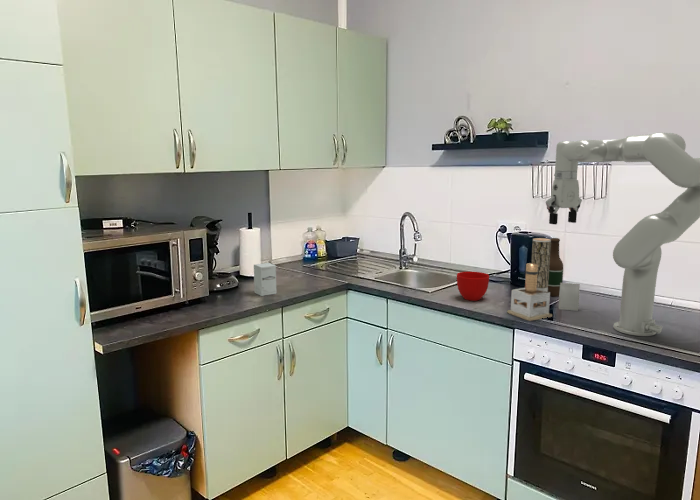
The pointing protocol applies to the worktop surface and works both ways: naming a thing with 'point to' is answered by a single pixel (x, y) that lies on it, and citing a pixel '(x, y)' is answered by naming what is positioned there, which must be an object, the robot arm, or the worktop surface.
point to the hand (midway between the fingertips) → (562, 223)
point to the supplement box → (265, 279)
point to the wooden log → (541, 261)
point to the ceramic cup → (472, 284)
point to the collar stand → (530, 304)
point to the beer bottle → (555, 269)
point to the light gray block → (569, 296)
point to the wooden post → (531, 280)
